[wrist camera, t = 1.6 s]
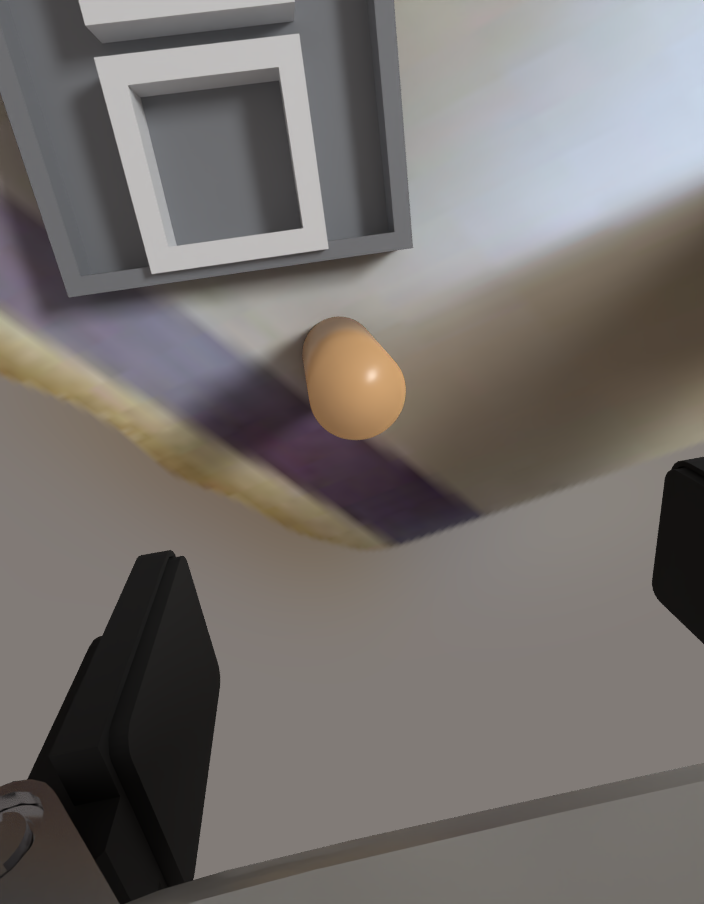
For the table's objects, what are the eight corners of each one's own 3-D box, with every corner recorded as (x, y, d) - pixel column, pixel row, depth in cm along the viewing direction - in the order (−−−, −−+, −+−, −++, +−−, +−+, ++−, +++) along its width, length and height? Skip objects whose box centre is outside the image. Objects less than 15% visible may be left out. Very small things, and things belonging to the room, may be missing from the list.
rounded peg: (370, 311, 28) (401, 338, 21) (378, 383, 30) (409, 431, 22) (296, 322, 28) (301, 354, 20) (308, 394, 29) (317, 447, 22)
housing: (359, -257, 20) (371, -337, 17) (401, 246, 27) (415, 248, 24) (-76, -221, 19) (-137, -299, 16) (87, 292, 26) (64, 298, 23)
